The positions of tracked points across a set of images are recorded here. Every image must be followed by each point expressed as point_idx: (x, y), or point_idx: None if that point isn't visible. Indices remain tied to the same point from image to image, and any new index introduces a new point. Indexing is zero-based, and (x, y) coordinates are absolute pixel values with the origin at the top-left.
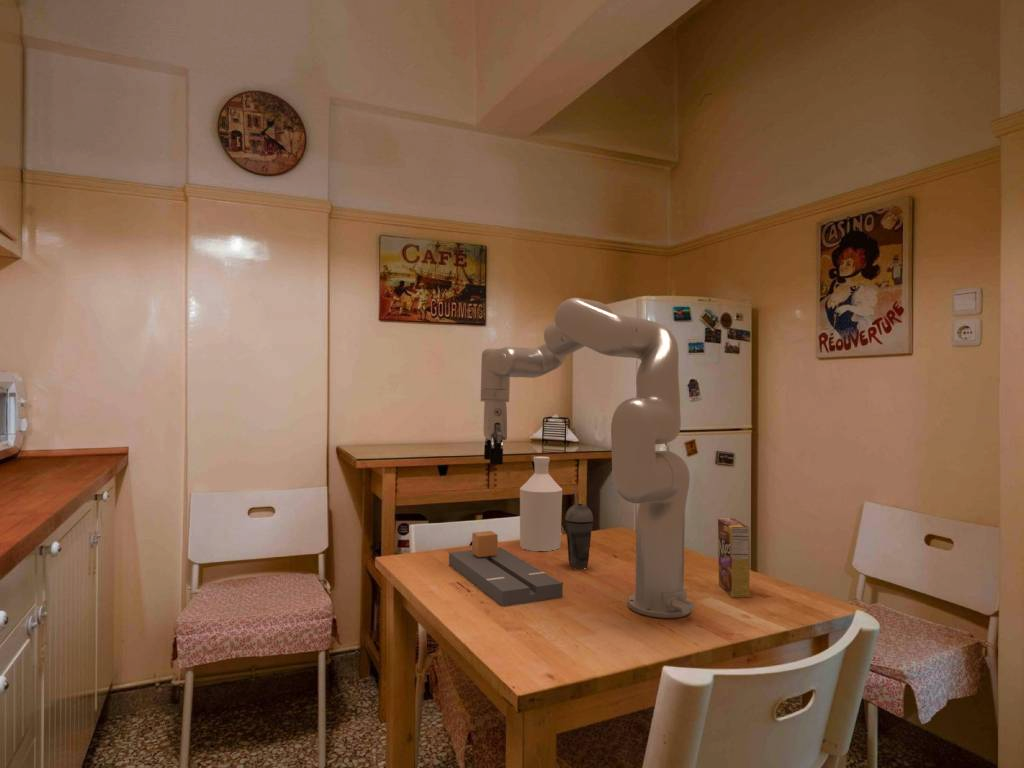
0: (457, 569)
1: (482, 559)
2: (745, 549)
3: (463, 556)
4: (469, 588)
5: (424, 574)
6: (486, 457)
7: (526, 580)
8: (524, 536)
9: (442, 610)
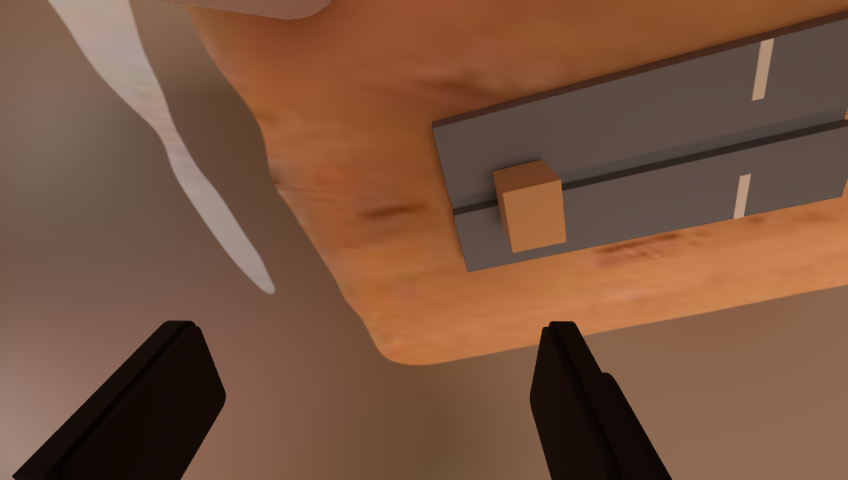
0: None
1: None
2: None
3: None
4: None
5: (526, 305)
6: (214, 402)
7: (798, 117)
8: (306, 6)
9: (755, 291)
